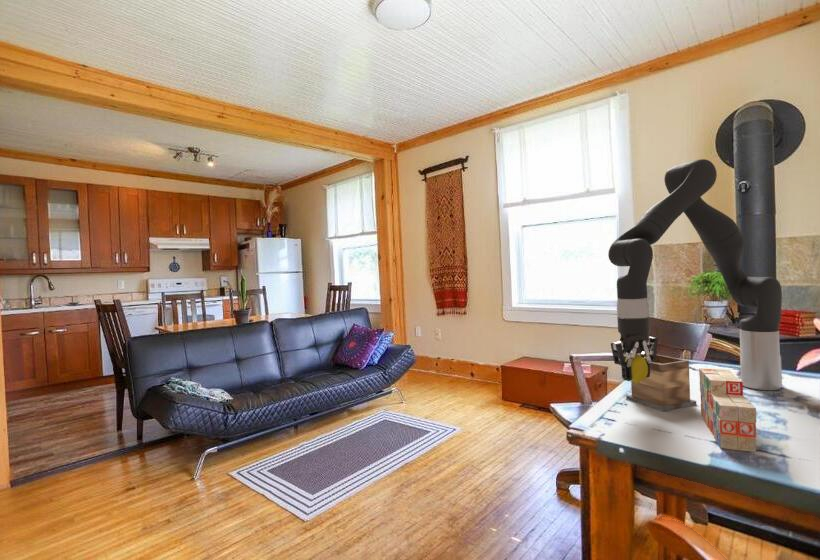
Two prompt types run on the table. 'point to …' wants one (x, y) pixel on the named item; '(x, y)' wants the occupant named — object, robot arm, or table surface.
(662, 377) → the open wooden crate
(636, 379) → the lemon
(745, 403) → the stack of blocks
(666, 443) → the table surface
